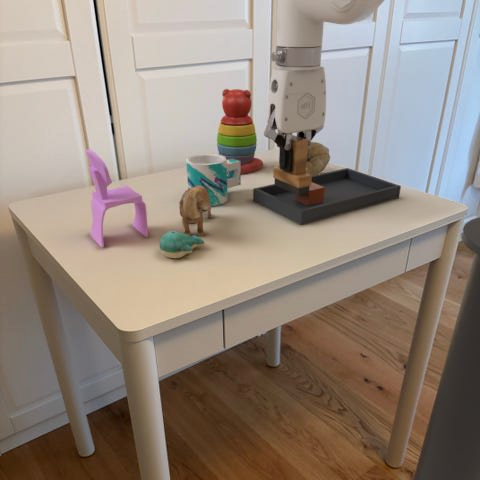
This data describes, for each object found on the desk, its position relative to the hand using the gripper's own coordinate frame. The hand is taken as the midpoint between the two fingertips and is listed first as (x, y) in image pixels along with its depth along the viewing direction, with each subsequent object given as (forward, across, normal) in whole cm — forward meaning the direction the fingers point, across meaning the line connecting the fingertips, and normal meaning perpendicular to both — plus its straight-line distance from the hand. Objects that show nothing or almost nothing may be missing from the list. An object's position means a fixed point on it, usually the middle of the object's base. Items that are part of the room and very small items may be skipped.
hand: (292, 168), depth 93 cm
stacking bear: (+8, +6, +29) cm, 31 cm away
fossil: (+8, +17, +16) cm, 25 cm away
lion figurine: (+8, -20, +1) cm, 22 cm away
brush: (+4, 0, 0) cm, 4 cm away
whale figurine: (+8, -27, -6) cm, 29 cm away
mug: (+8, -9, +14) cm, 18 cm away
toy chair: (+8, -33, +6) cm, 34 cm away
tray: (+8, +9, 0) cm, 12 cm away
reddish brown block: (+7, +5, 0) cm, 9 cm away
